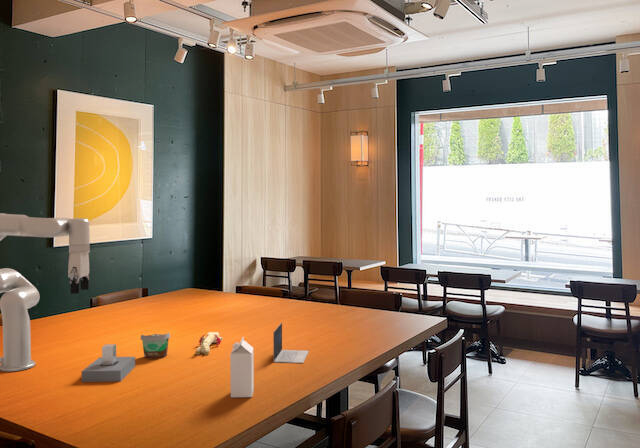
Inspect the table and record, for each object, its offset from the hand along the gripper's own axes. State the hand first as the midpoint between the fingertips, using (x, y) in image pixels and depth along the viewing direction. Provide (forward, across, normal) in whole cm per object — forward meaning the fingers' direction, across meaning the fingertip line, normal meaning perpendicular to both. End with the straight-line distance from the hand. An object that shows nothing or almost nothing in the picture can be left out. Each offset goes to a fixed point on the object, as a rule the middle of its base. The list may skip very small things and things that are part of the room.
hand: (80, 291), depth 210 cm
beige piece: (+31, -25, +47) cm, 62 cm away
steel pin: (+30, +11, +15) cm, 36 cm away
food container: (+31, -10, +27) cm, 42 cm away
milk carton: (+31, +36, +68) cm, 83 cm away
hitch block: (+30, +11, +15) cm, 36 cm away
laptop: (+31, -8, +85) cm, 91 cm away
